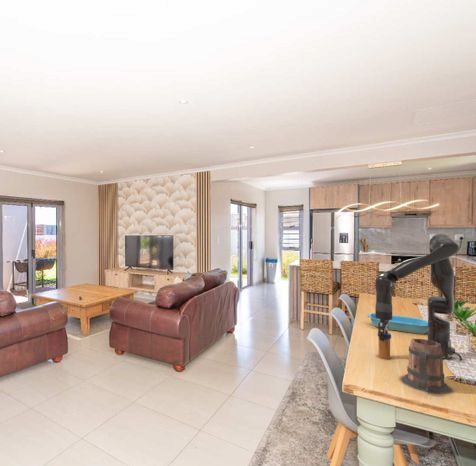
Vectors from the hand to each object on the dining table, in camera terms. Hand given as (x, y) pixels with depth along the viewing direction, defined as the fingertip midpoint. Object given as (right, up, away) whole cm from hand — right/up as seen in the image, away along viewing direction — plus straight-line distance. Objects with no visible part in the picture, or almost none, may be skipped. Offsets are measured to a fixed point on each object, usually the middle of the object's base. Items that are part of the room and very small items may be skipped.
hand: (383, 338), depth 186 cm
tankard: (-8, -11, -34) cm, 37 cm away
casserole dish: (+50, -9, +51) cm, 72 cm away
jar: (0, -10, 0) cm, 10 cm away
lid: (0, +3, 0) cm, 3 cm away
